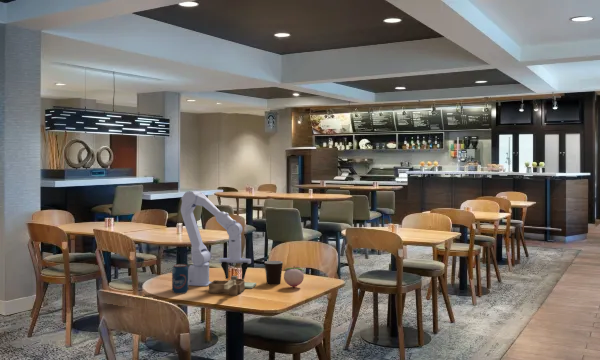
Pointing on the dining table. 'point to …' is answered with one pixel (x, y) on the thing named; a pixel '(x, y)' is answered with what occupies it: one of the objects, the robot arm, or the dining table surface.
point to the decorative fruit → (293, 276)
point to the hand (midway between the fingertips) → (235, 278)
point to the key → (229, 284)
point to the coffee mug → (273, 272)
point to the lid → (247, 284)
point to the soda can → (180, 278)
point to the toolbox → (234, 290)
